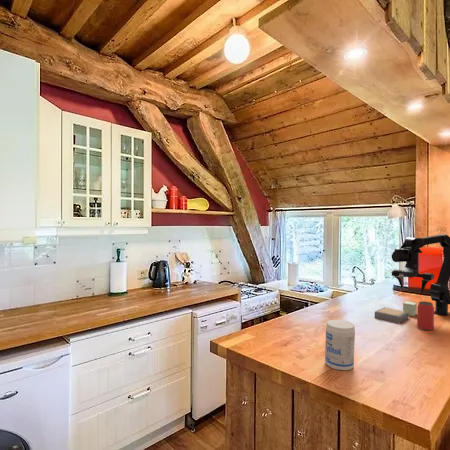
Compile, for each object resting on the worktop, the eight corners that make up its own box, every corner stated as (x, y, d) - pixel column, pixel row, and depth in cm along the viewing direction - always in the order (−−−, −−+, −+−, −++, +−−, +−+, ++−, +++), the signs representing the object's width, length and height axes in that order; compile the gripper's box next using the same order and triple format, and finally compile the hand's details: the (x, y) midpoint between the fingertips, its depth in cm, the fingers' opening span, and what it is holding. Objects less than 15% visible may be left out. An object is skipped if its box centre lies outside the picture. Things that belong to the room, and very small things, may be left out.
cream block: (406, 312, 178) (406, 301, 178) (416, 314, 175) (416, 303, 174) (403, 314, 175) (403, 302, 175) (413, 316, 171) (413, 304, 171)
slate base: (384, 312, 177) (384, 307, 177) (408, 318, 168) (408, 311, 168) (374, 317, 169) (374, 311, 169) (399, 323, 160) (399, 316, 160)
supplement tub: (320, 365, 114) (321, 324, 114) (331, 356, 121) (331, 317, 121) (348, 374, 108) (349, 330, 107) (358, 364, 115) (358, 323, 115)
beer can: (436, 331, 149) (436, 305, 148) (420, 330, 150) (420, 304, 150) (430, 326, 155) (430, 301, 155) (414, 325, 156) (415, 300, 156)
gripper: (388, 261, 173) (387, 290, 173) (428, 265, 159) (427, 296, 160) (395, 259, 181) (395, 287, 181) (434, 262, 167) (434, 292, 168)
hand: (412, 290), depth 172 cm, fingers open, 9 cm apart
